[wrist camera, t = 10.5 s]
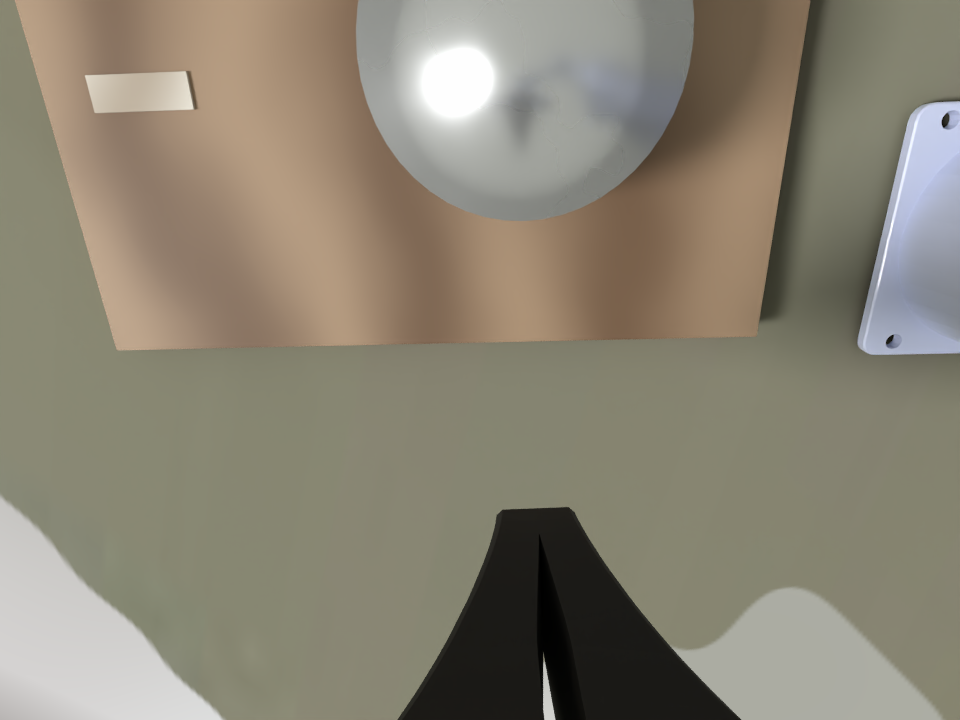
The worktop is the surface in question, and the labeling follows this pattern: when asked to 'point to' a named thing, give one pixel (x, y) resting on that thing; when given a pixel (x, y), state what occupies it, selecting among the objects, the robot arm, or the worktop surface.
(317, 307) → the post board
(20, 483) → the worktop surface
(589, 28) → the grey lever with knob
